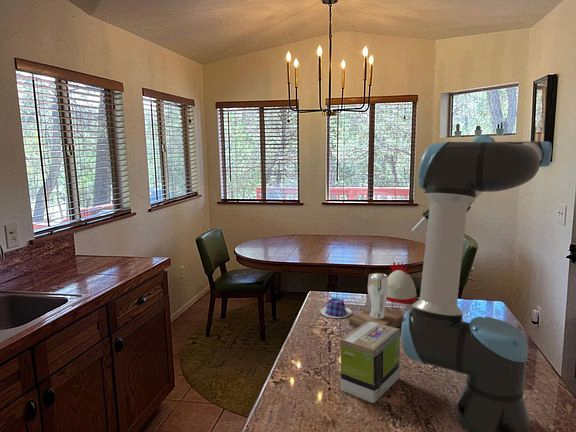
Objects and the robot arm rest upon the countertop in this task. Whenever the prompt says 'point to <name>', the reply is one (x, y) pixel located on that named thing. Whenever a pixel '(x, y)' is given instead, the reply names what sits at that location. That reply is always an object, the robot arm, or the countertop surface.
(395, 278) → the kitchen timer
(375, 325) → the tea box
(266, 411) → the countertop surface
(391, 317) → the walnut serving board
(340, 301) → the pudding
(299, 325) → the countertop surface
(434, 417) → the countertop surface
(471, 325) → the robot arm
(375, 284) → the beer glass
